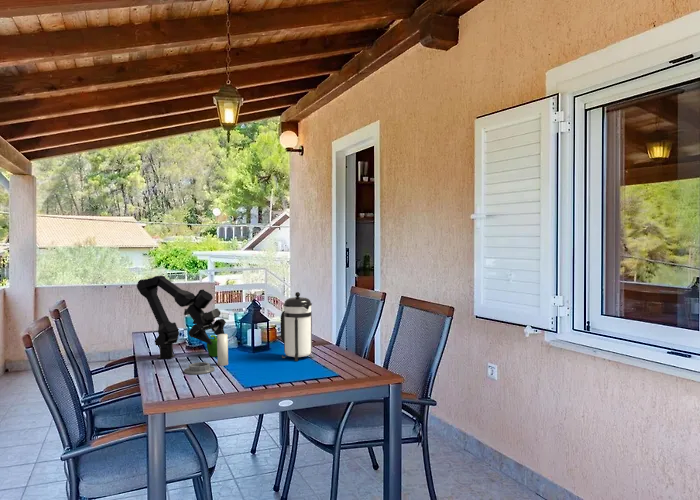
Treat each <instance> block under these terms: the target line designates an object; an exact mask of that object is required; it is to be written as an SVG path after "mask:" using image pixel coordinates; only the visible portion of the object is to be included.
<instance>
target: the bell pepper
mask: <svg viewBox="0 0 700 500" xmlns="http://www.w3.org/2000/svg"><path fill="white" fill-rule="evenodd" d="M209 338H210V340H211V342H212V344H211V345H210V344H207V343H206V347H207V348H206V349H207V352H208V356H209V357H214V358H215V357H218V356H217V335H216V334H211V335H210V337H209Z"/></svg>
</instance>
